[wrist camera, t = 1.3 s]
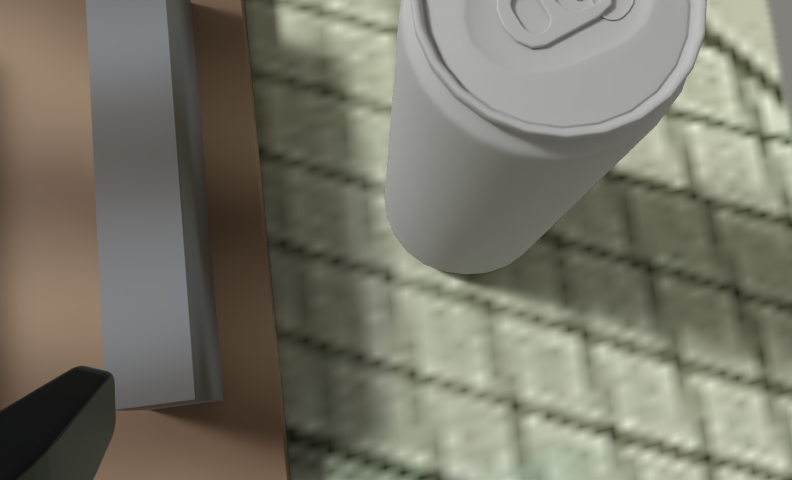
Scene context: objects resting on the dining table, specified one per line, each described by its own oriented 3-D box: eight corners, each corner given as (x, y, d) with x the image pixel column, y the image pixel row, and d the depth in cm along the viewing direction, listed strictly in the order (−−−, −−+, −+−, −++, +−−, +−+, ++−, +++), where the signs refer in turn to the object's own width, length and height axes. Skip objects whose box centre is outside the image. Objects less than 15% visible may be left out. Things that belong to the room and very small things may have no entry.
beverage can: (570, 231, 23) (779, 52, 11) (434, 309, 22) (508, 204, 11) (489, 102, 24) (605, -189, 12) (355, 173, 23) (342, -63, 12)
